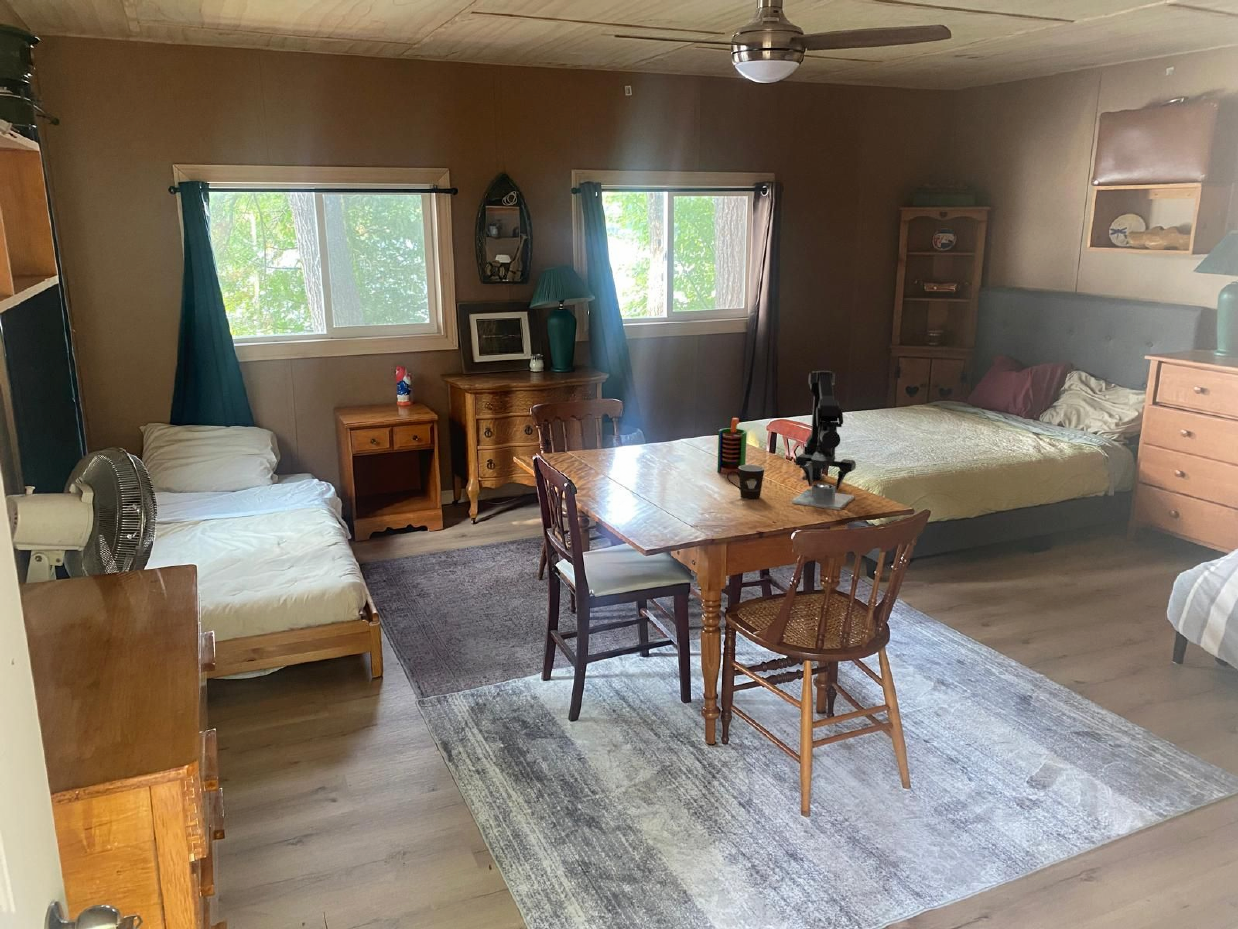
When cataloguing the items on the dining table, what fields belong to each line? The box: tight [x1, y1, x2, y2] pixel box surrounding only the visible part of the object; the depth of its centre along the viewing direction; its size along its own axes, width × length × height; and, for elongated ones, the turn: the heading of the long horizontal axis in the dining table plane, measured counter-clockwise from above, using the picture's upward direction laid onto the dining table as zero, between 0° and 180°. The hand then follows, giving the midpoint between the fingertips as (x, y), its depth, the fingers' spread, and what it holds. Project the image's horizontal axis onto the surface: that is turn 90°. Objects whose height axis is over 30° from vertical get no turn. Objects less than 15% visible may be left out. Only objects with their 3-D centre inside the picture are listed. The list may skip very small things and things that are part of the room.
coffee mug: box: [726, 464, 766, 500], centre depth 315 cm, size 12×9×10 cm
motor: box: [717, 417, 748, 476], centre depth 345 cm, size 10×9×20 cm
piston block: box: [791, 485, 855, 511], centre depth 311 cm, size 16×16×5 cm
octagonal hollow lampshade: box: [811, 482, 837, 501], centre depth 311 cm, size 7×7×4 cm
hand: (823, 488), depth 310 cm, fingers open, 9 cm apart
